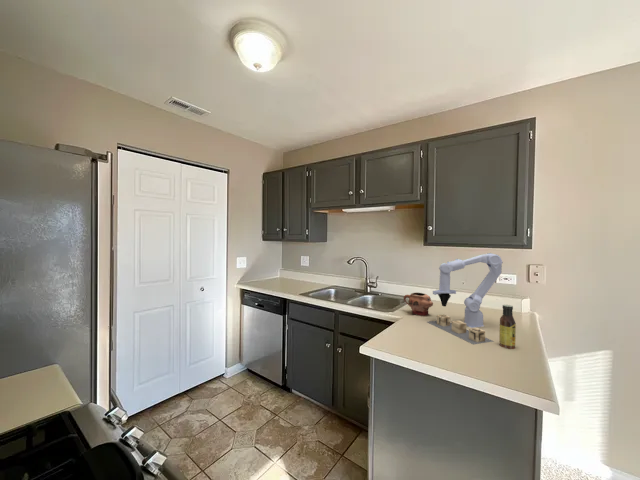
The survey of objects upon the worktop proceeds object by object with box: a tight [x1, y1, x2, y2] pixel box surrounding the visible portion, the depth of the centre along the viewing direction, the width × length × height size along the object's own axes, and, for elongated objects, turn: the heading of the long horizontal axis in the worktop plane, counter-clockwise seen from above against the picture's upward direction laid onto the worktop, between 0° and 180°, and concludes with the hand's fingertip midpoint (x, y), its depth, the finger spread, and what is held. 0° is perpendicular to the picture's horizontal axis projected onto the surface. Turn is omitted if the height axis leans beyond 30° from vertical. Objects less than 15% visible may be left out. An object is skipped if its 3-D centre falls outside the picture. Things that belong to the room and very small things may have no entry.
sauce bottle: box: [498, 304, 517, 350], centre depth 127 cm, size 6×6×20 cm
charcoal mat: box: [426, 320, 494, 345], centre depth 147 cm, size 13×34×1 cm, turn 17°
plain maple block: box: [451, 320, 467, 334], centre depth 145 cm, size 5×5×5 cm
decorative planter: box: [403, 292, 434, 317], centre depth 178 cm, size 20×12×14 cm, turn 51°
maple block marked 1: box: [436, 313, 451, 326], centre depth 156 cm, size 5×5×5 cm
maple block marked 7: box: [468, 327, 486, 342], centre depth 134 cm, size 5×5×5 cm
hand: (443, 306), depth 160 cm, fingers closed
